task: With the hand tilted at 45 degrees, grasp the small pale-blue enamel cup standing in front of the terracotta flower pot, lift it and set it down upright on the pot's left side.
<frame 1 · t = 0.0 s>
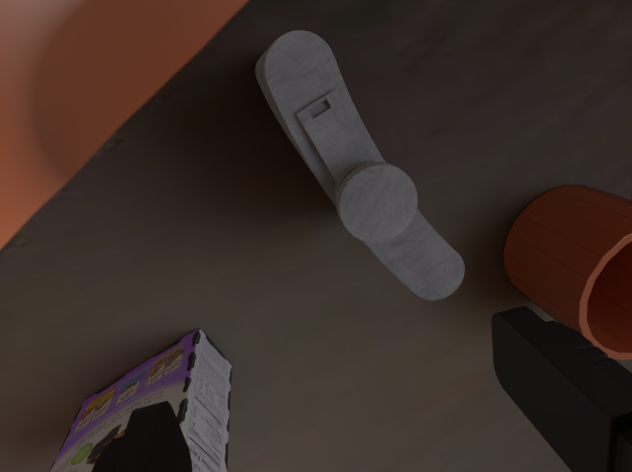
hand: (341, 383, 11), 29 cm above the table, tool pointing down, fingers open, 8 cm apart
flower pot: (559, 244, 45), on the table
hip flask: (315, 139, 38), on the table
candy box: (159, 380, 44), on the table
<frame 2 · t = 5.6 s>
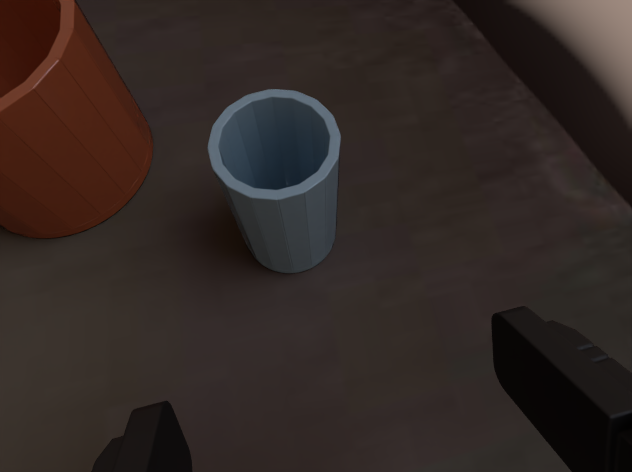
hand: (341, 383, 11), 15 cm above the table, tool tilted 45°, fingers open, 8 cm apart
flower pot: (66, 159, 32), on the table
enamel cup: (290, 230, 29), on the table
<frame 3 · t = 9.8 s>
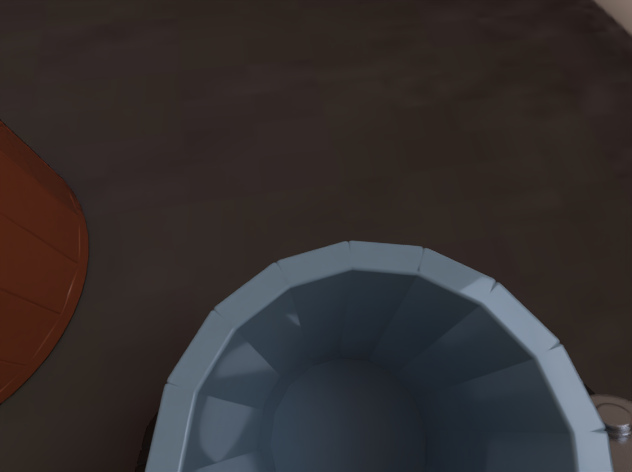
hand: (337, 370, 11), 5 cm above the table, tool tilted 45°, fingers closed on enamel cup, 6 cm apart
enamel cup: (347, 437, 15), on the table, touching gripper
when the fingers open (5 cm above the table, at t = 19.1 s): enamel cup stays where it is, on the table.
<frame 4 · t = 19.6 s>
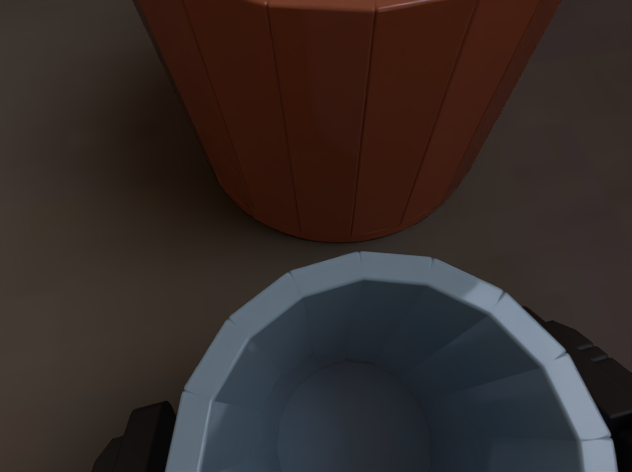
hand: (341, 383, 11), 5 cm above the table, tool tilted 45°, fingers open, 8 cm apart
flower pot: (338, 119, 20), on the table
enamel cup: (352, 440, 15), on the table
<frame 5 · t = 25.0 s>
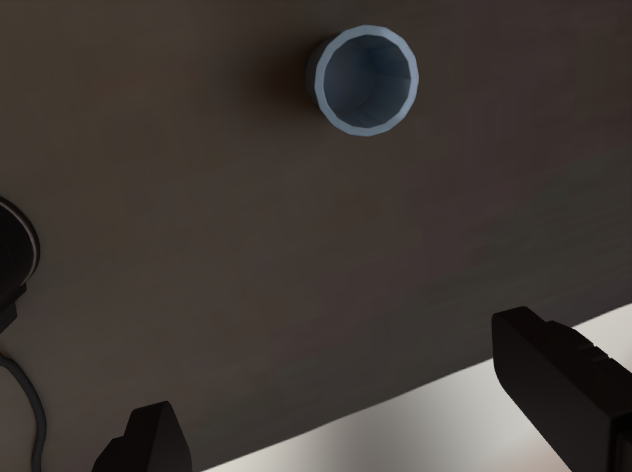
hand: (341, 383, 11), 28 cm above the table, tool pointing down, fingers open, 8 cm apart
enamel cup: (342, 76, 34), on the table
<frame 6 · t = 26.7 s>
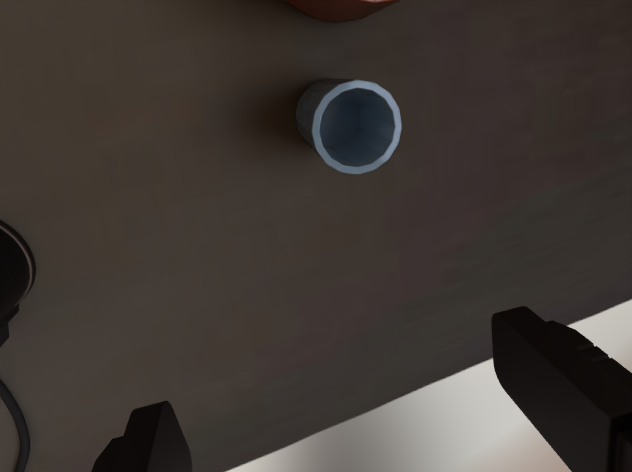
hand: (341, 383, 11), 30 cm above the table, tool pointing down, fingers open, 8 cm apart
enamel cup: (329, 115, 38), on the table
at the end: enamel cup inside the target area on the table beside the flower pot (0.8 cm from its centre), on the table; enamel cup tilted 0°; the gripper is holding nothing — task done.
